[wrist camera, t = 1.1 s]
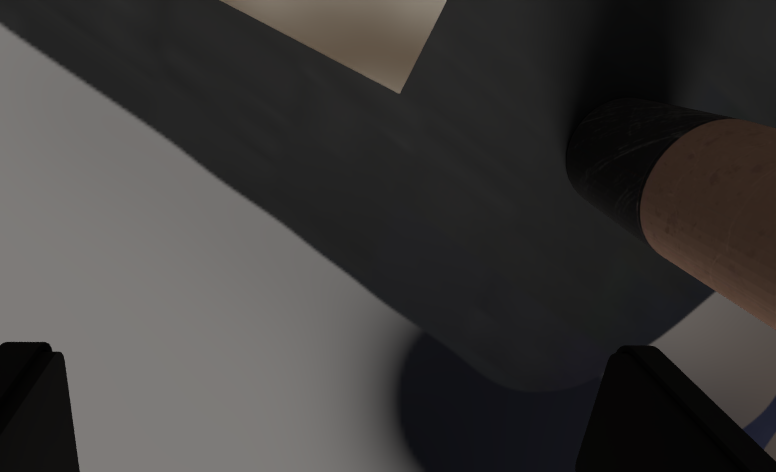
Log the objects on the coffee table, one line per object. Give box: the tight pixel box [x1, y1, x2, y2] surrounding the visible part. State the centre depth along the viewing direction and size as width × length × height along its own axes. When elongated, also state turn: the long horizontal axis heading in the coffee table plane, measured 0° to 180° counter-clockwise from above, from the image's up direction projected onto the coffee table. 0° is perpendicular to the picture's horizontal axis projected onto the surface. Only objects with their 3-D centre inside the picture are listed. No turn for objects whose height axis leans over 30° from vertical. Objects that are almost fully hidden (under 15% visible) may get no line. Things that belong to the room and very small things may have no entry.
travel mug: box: [566, 98, 776, 330], centre depth 26 cm, size 8×8×20 cm
